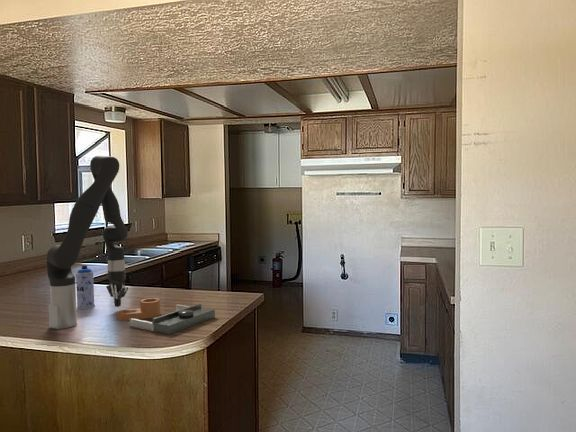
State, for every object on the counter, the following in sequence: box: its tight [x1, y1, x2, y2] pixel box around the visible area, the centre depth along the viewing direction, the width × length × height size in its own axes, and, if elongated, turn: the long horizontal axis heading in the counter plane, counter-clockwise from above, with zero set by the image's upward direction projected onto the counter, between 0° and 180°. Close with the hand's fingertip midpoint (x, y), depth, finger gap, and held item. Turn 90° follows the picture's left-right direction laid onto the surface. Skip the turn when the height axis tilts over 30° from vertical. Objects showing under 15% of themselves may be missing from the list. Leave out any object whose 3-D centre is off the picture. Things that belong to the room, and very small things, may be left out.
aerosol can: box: [75, 265, 96, 310], centre depth 208 cm, size 8×8×20 cm
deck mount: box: [129, 303, 216, 336], centre depth 182 cm, size 26×22×5 cm
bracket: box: [116, 297, 161, 321], centre depth 191 cm, size 18×8×7 cm, turn 108°
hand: (117, 306), depth 201 cm, fingers closed
